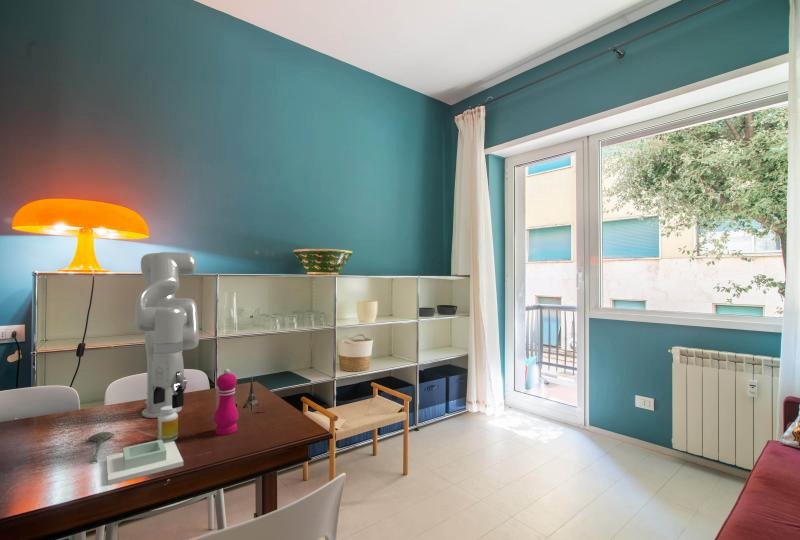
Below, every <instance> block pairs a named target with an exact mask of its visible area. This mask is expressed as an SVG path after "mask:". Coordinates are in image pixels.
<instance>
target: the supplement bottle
mask: <svg viewBox="0 0 800 540" xmlns="http://www.w3.org/2000/svg"><path fill="white" fill-rule="evenodd" d="M175 410H176V408H172V406H165V407H162V408H161V409H160V413H161V415H160V416H159V417H157V440H162V441H163V443H168V442H172V441H174V442H175V441H176V440H177V439H178V437H179V414H178V413H175Z"/></svg>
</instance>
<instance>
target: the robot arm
mask: <svg viewBox="0 0 800 540" xmlns="http://www.w3.org/2000/svg"><path fill="white" fill-rule="evenodd" d="M140 270H141V274H142V278H143V280H144V282H145V284H146V286H147V287H145V288H144V289H143V290H142V291H141V292H140V294H139V295H138V296H137V298H136V301H135V307H134V309H135V310H134V323H135V326H136V328H137V329H138V330H139V331H142V332H145V334H144V345H145V350H146V362H147V364H146V366H147V367H146V368H147V369H146V375H147V376H146V380H147V381H146V399H145V401H144V404H145V405H146V408H145V409H143V410H142V411H141V416H142V417H144V418H149V419H155V418H157V419H158V417H159V416H160V415H161V413H160V409H161V408H162V407H165V406H172V408H176V410H175V413H177V414H178V413H179V412H181V411H182V409H183V406H184V404H185V401H184V394H185V392H186V388H187V384H188V379H187V378H186V377H185V368H184V367H185V366H184V357H183V351H187V350H193V349H195V348H197V347H198V345H199V343H200V342H199V341H200V331H199V330H200V329H199V316H198V305H197V303H196V302H195V300H194V299H192V298H189V297H188V298H187V297H185V298H183V297H182V298H176V296H175V293H177V291H179V289H180V280H179V276H193V275H194V274H195V272H196V271H197V262H196V258H195V256H194V255H193V254H192V253H191V252H178V251H177V252H175V251H171V252H170V251H167V252H166V251H163V252H152V253H147V254H144V255H143V256H142V257H141V259H140Z"/></svg>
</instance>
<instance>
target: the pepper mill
mask: <svg viewBox="0 0 800 540" xmlns="http://www.w3.org/2000/svg"><path fill="white" fill-rule="evenodd" d="M230 371H231V370H230V369H228V368H225V369H224V370H223V374H221V375H219V376H218V377H217V379H216V382H215V383H216V387H217V388H218V390H217V393H218V395H219V402H218V406H217V408H216V411H215V413H214V417H213V421H214V423H215V425H216V426H215V434H216V435H219V436H226V435H230V434H233V433H235V432H237V430H238V424H237V421H238V420H239V414H238V411H237V408H236V403H235V401H234V400H235V399H234V394H235V393H236V391H235V390H236V388H235V387H236V385H237V383H238V382H237V381H238V379H237V377H236V375H234V373H230Z"/></svg>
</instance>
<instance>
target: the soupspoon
mask: <svg viewBox="0 0 800 540" xmlns="http://www.w3.org/2000/svg"><path fill="white" fill-rule="evenodd" d="M113 436H115V433H113V432H110V431H101V432H97V433H93V434H92V435H91V436H89V437H88V438H87V439H88V440H90V441H95V442H97V443H96V446H95V447H96V448H95V451H94V454H93V456H92V458H91V459H90V460H89V462H88V463H91V464H94V463H93V462H96V463H98V459H97V458H98V454H99V451H100V446H101V444H102V442H103V441H105V440H107V439H109V438H111V437H113Z"/></svg>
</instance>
